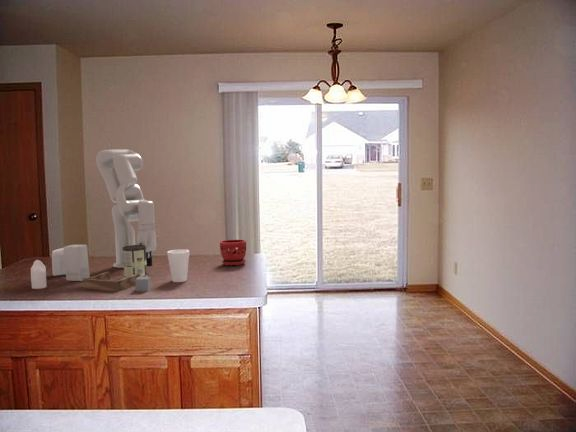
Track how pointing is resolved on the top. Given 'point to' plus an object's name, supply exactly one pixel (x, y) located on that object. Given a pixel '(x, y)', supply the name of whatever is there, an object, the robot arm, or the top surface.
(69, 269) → the skincare box
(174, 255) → the foam cup
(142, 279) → the grey block
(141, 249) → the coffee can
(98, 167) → the robot arm
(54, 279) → the top surface
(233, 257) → the plant pot
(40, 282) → the white tall rounded piece
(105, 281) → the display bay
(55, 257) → the photo printer
